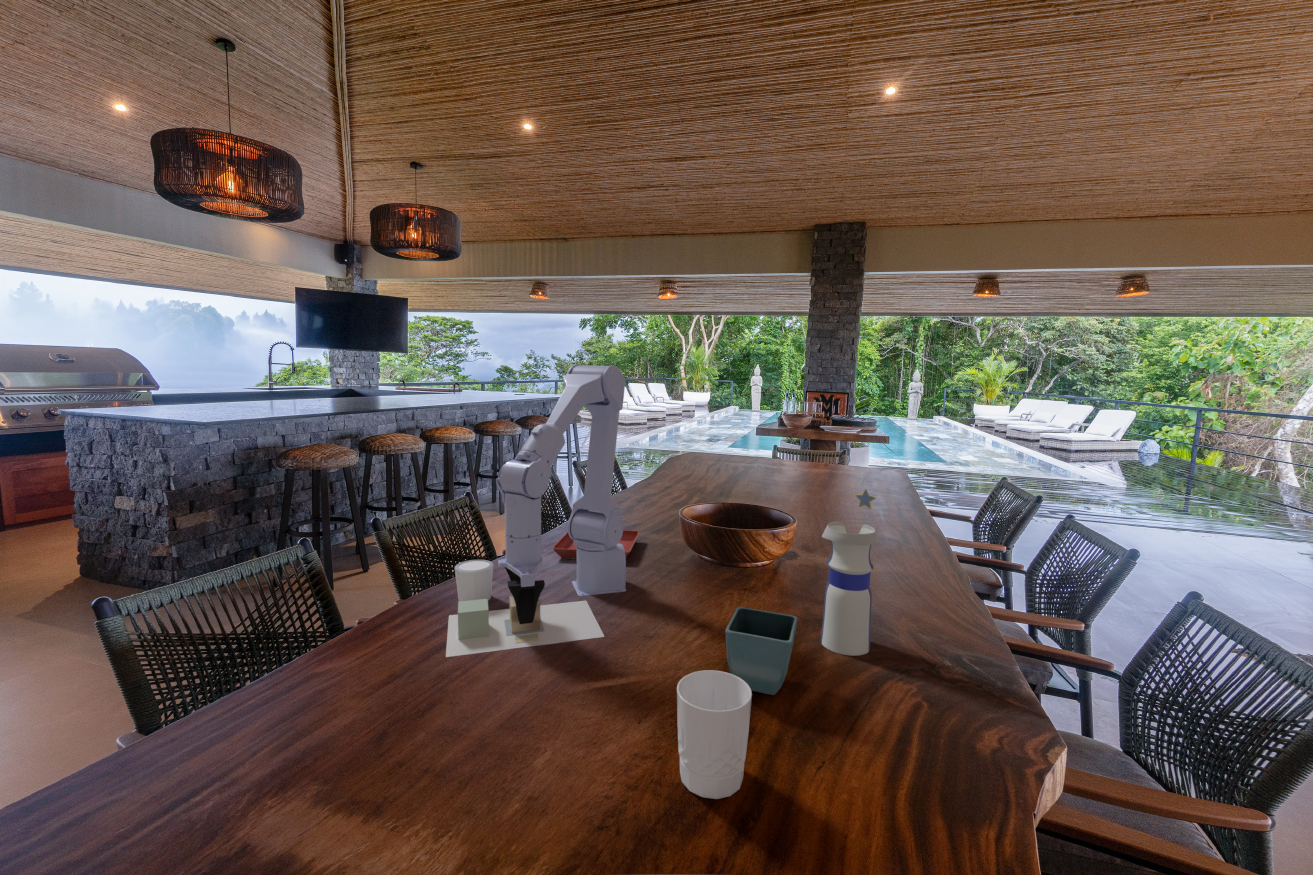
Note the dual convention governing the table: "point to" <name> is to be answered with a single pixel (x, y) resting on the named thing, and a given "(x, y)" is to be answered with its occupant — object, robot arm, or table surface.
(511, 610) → the maple block
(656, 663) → the table surface
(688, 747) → the white cup
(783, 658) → the flower pot
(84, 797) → the table surface
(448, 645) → the blueprint baseplate
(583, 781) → the table surface
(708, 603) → the table surface
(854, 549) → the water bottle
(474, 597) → the white tumbler
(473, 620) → the sage block
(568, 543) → the plant saucer
